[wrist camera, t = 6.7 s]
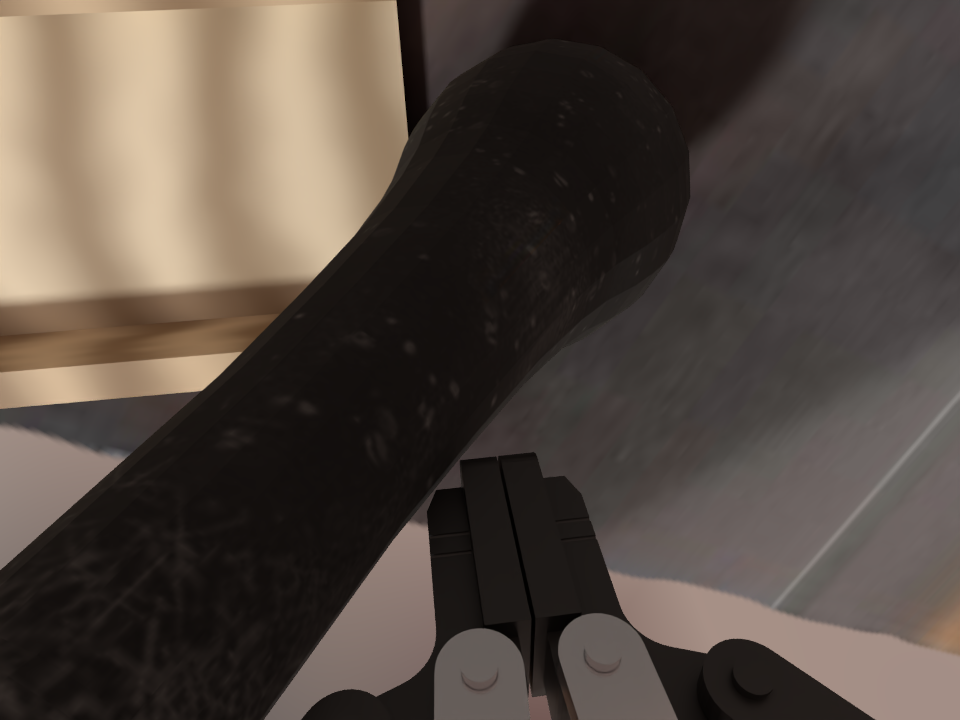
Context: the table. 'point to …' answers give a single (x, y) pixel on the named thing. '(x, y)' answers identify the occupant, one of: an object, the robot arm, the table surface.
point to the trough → (179, 179)
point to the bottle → (351, 399)
